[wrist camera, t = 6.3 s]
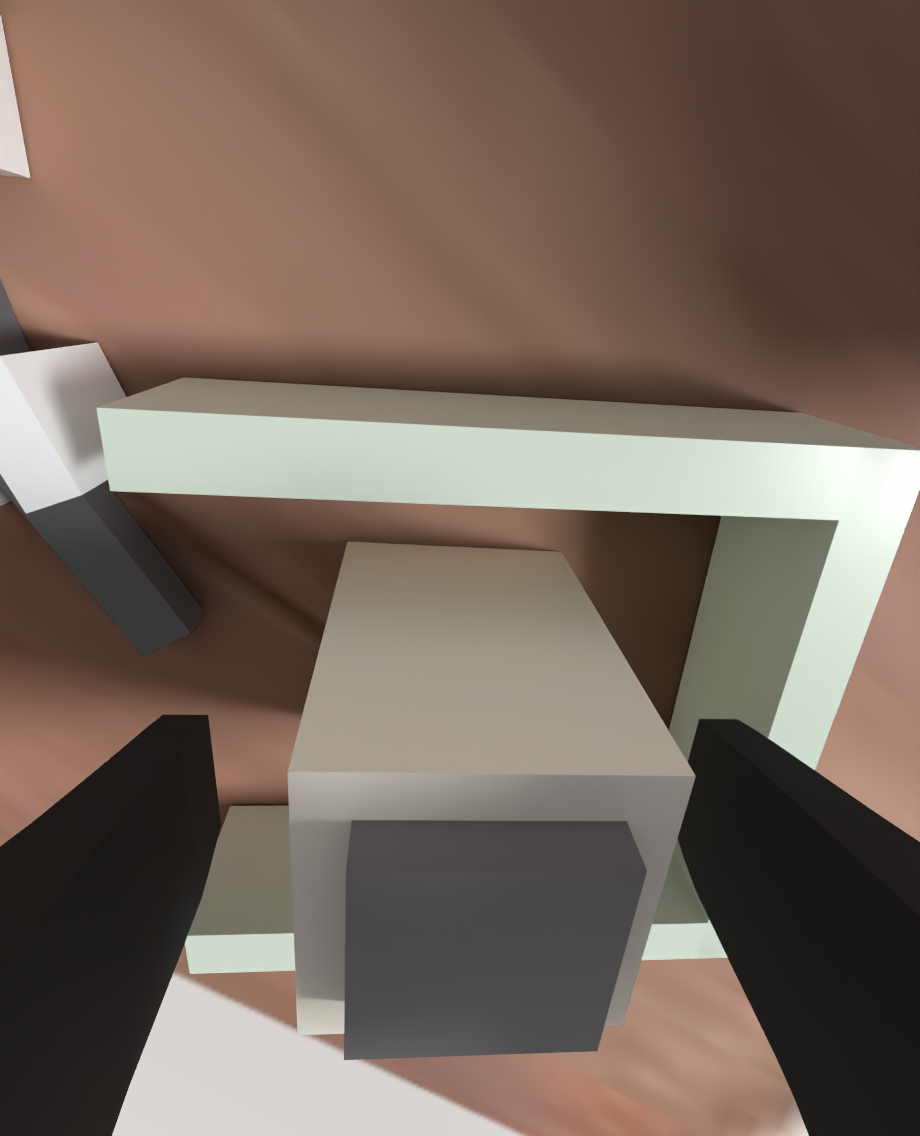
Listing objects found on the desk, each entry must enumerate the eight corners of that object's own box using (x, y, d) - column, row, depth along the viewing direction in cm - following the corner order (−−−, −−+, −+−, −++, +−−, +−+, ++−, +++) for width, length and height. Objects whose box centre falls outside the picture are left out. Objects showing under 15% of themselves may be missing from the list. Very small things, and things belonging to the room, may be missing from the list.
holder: (801, 412, 11) (933, 451, 8) (682, 834, 15) (745, 956, 12) (183, 377, 10) (96, 407, 7) (233, 839, 14) (190, 973, 11)
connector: (534, 723, 13) (638, 1080, 7) (345, 720, 13) (288, 1094, 7) (561, 551, 12) (723, 823, 6) (347, 541, 11) (273, 821, 5)
